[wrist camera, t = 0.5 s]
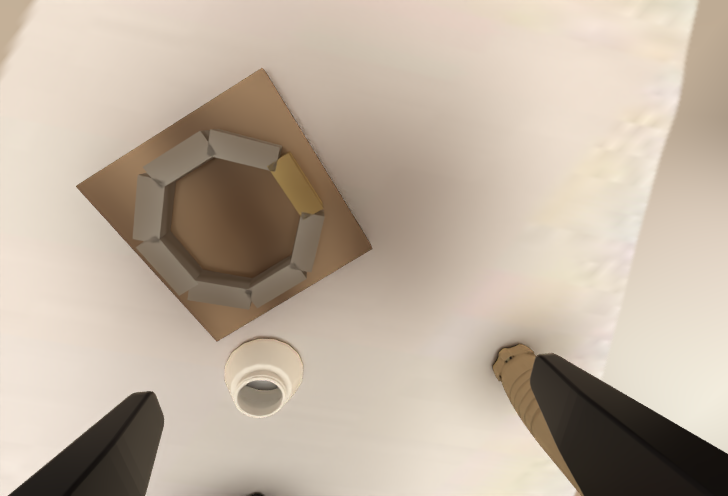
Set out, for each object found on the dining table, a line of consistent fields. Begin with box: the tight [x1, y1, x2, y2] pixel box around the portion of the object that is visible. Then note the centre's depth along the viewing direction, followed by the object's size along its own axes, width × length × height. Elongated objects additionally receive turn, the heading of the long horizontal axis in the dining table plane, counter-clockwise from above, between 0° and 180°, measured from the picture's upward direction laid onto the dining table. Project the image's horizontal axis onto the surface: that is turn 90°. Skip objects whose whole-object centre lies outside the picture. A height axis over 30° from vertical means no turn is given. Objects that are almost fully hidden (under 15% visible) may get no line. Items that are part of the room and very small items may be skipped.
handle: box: [493, 344, 584, 496], centre depth 20 cm, size 5×6×15 cm
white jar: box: [225, 339, 303, 418], centre depth 23 cm, size 5×3×5 cm
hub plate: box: [76, 68, 373, 341], centre depth 19 cm, size 11×11×3 cm
